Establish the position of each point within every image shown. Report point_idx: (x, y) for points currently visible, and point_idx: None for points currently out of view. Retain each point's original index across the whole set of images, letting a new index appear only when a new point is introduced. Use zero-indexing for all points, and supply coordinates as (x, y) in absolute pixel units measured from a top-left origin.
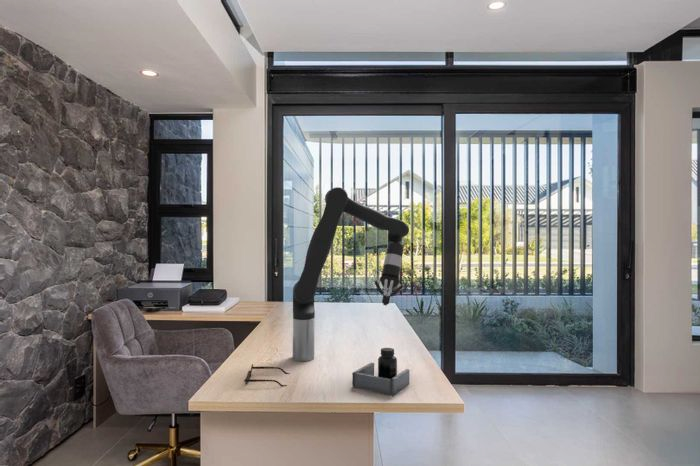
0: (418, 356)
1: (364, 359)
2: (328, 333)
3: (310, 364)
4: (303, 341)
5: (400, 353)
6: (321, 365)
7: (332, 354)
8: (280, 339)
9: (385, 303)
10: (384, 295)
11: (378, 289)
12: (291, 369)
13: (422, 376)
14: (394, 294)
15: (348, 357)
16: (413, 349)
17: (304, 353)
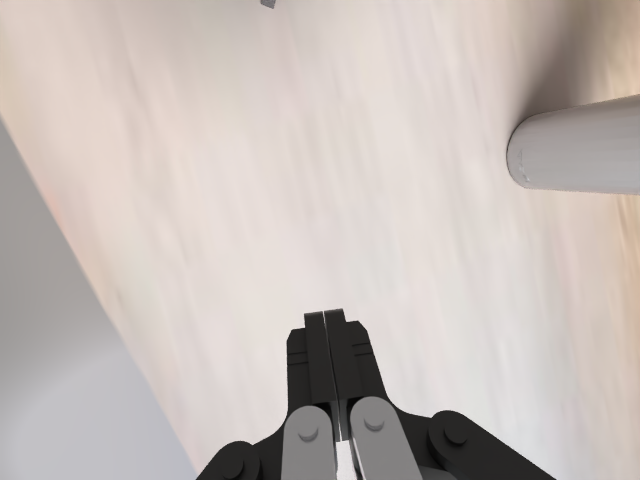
0: (154, 323)
1: (346, 209)
2: (520, 449)
3: (503, 91)
4: (603, 102)
5: (235, 333)
6: (468, 90)
7: (461, 229)
8: (632, 324)
9: (320, 316)
10: (370, 398)
11: (526, 463)
12: (546, 17)
13: (59, 53)
14: (208, 469)
15: (404, 213)
16: (198, 404)
17: (552, 112)
